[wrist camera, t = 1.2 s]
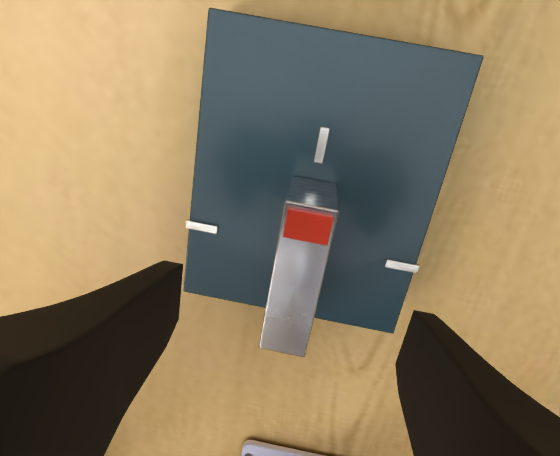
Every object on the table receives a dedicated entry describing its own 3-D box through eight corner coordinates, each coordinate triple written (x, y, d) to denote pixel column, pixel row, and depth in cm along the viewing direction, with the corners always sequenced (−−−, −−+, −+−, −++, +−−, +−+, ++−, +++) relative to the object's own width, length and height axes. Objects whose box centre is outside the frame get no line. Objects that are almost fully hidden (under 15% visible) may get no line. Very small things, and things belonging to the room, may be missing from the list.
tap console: (379, 330, 22) (387, 364, 19) (193, 293, 22) (177, 321, 19) (464, 58, 17) (489, 55, 14) (221, 16, 17) (204, 6, 14)
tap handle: (308, 308, 19) (304, 362, 15) (269, 300, 19) (257, 352, 15) (336, 183, 16) (339, 212, 13) (292, 175, 16) (284, 202, 13)
